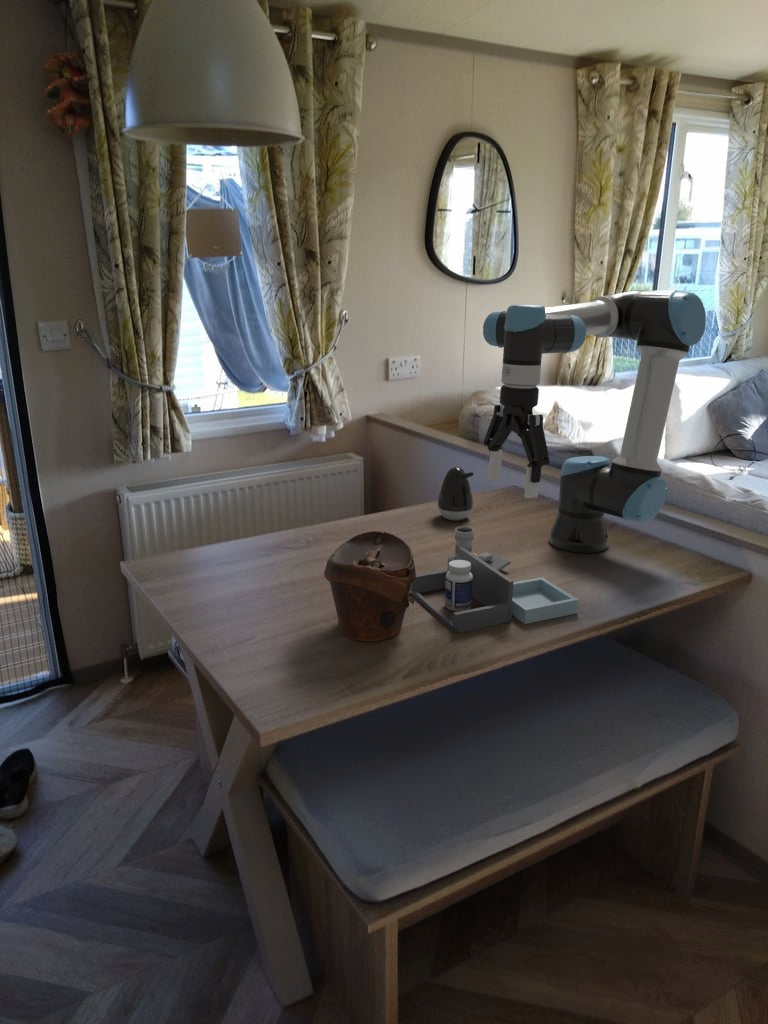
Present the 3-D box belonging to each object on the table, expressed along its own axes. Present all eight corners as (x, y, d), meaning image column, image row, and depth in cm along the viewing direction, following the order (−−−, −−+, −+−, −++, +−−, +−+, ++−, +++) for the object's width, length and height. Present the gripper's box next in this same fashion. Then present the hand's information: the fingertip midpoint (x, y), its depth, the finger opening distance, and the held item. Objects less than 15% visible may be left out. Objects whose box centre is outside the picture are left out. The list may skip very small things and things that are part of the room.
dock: (409, 592, 167) (410, 555, 164) (461, 583, 172) (462, 546, 169) (454, 633, 148) (456, 591, 145) (510, 621, 153) (513, 581, 150)
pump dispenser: (462, 526, 210) (465, 473, 205) (430, 519, 215) (432, 468, 211) (479, 516, 218) (481, 465, 213) (447, 510, 223) (449, 460, 219)
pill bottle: (475, 604, 161) (477, 561, 158) (466, 614, 156) (468, 570, 153) (450, 599, 164) (451, 556, 160) (440, 609, 159) (442, 565, 155)
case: (346, 659, 138) (346, 568, 133) (312, 615, 155) (311, 534, 150) (432, 642, 145) (436, 556, 139) (390, 603, 162) (392, 524, 157)
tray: (491, 599, 164) (492, 586, 163) (541, 589, 168) (542, 577, 167) (524, 624, 152) (525, 610, 151) (577, 613, 157) (578, 599, 156)
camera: (441, 527, 173) (487, 516, 182) (439, 574, 177) (484, 561, 186) (467, 537, 167) (513, 525, 176) (464, 586, 170) (510, 572, 179)
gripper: (471, 378, 158) (465, 475, 164) (541, 395, 136) (531, 507, 142) (501, 377, 161) (494, 473, 167) (575, 393, 139) (564, 503, 145)
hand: (511, 488), depth 155 cm, fingers open, 13 cm apart
